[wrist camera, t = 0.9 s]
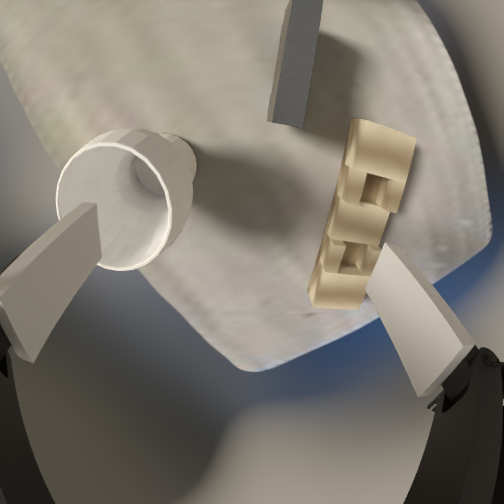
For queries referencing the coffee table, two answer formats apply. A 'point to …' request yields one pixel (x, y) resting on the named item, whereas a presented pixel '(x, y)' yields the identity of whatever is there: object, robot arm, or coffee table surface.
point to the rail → (360, 213)
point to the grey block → (295, 62)
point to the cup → (131, 192)
